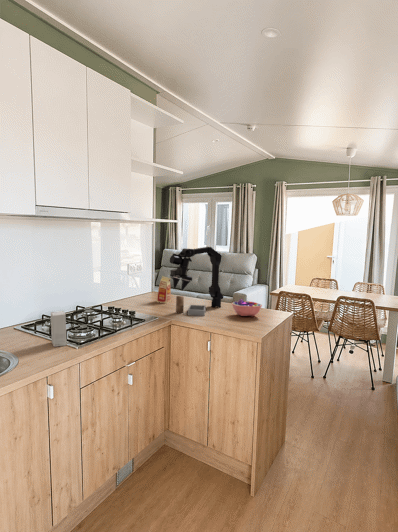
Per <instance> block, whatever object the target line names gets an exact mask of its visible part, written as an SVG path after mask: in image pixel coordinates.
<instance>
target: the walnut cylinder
mask: <svg viewBox="0 0 398 532" xmlns="http://www.w3.org/2000/svg"><path fill="white" fill-rule="evenodd" d="M184 299H185V296H184V295H177V296H176V297H175V301H176V302H175V313H176V314H184V306H185V304H184V303H185V300H184Z"/></svg>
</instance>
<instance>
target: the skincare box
mask: <svg viewBox="0 0 398 532" xmlns="http://www.w3.org/2000/svg"><path fill="white" fill-rule="evenodd" d="M66 315H67V314H66V313H65V312H64V310H62V311H61V310H60V311H59V310H58V311H52V312H50V327H51V328H50V330H51V332H50V333H51V344H52V346H53V347H55V348H56V347H57V348H58V347H65V346H67V345H68V344H67V343H68V342H67V322H66V321H67V319H66Z"/></svg>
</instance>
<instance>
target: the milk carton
mask: <svg viewBox="0 0 398 532" xmlns="http://www.w3.org/2000/svg"><path fill="white" fill-rule="evenodd" d="M171 279H172V278H171V277H167V276H164V275H161V279H160V281H159V286H158V290H157V295H156V296H157V297H156V303H159V302H160V304H168V303H171V299H172V293H171V287H172V286H171Z"/></svg>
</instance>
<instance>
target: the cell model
mask: <svg viewBox="0 0 398 532" xmlns="http://www.w3.org/2000/svg"><path fill="white" fill-rule="evenodd" d="M231 305H232V308H233V310H234V312H235V313H236V315H239V316H241V317H255V316H256V315H259V312H260V311H261V310H262V307H263V304H261V303H257V302H254V301H249V300H248V301H247V300H243V298H241V299H238V300H237V301H233V302H231Z"/></svg>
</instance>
